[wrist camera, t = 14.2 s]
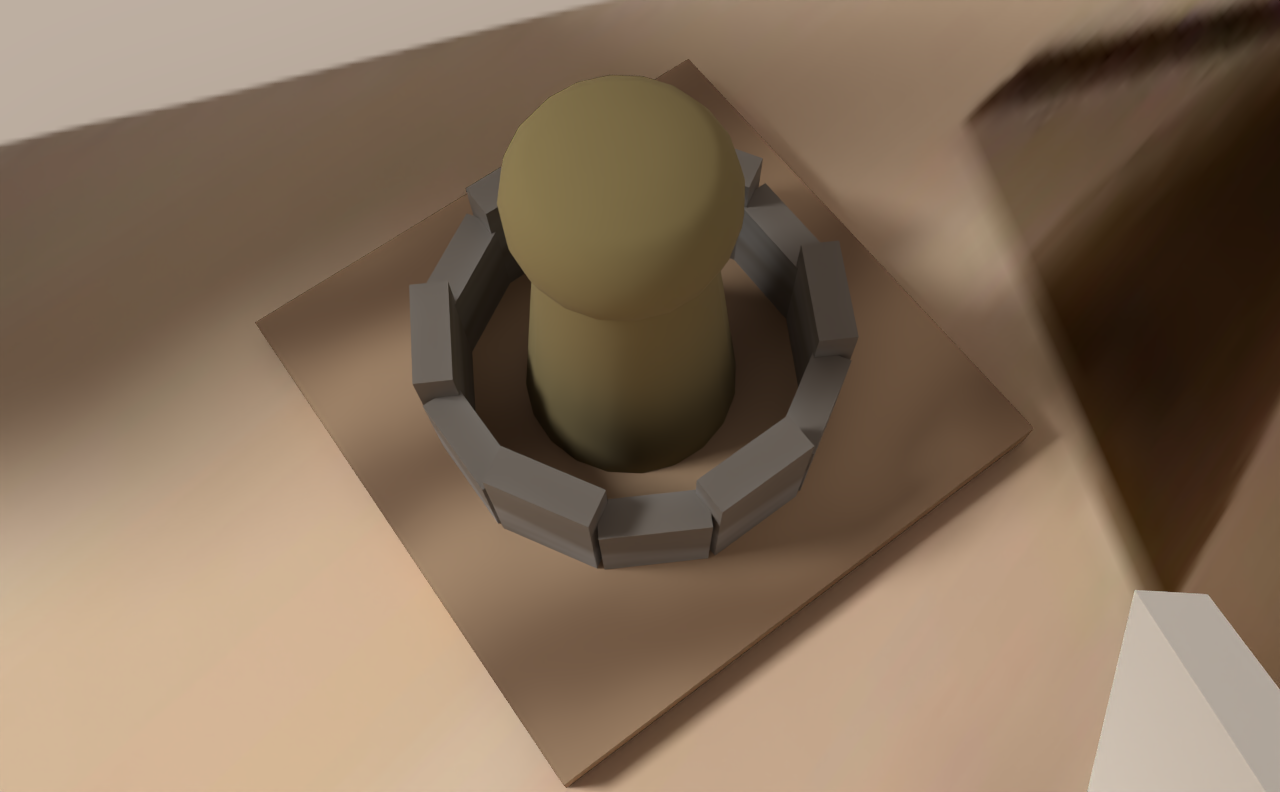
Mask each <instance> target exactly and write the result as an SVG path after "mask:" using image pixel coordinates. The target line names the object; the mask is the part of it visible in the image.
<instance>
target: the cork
mask: <svg viewBox="0 0 1280 792" xmlns="http://www.w3.org/2000/svg"><path fill="white" fill-rule="evenodd" d="M744 203H745V178H744V175H743V172H742V168H741V165H740V162H739V160H738V157H737V154H736V151H735V148H734V145H733V143H732V140H731V137H730V135H729V133H728V132H727V131H726V130H725V129H724V127H723V126H722V125H721V124H720V122H719V121H718V120H717V119H716V117H715V116H714V115H713V114H712V113H711V111H710V110H709V109H708V108H706V107H705V106H704V105H702V104H701V103H700V102H698V101H696V100H695V99H693V98H692V97H690V96H689V95H687V94H686V93H684V92H683V91H681V90H680V89H678V88H677V87H675V86H673V85H670V84H667V83H663V82H660V81H657V80H654V79H650V78H647V77H644V76H623V75H608V76H603V77H599V78H594V79H590V80H585V81H581V82H577V83H575V84H573V85H572V86H570V87H568V88H566V89H564V90H562V91H560V92H558V93H556V94H555V95H553V96H551V97H549V98H548V99H547V100H546V101H545V102H544V103H543V104H542V105H541V106H540V107H539V108H538V109H537V110H535V111H534V112H533V113H532V114H531V115H530V116H529V117H528V118H527V119H526V120H525V121H524V122H523V123H522V124H521V125H520V126H519V127H518V129H517V131H516V133H515V135H514V137H513V139H512V141H511V143H510V145H509V147H508V149H507V151H506V153H505V155H504V157H503V162H502V167H501V173H500V182H499V190H498V198H497V206H498V210H499V214H500V218H501V222H502V226H503V230H504V234H505V238H506V241H507V245H508V248H509V251H510V253H511V254H512V255H513V257H514V258H515V260H516V261H517V263H518V264H519V266H520V267H521V269H522V270H523V271H524V273H525V274H526V276H527V277H528V279H529V280H530V281H531V299H530V319H529V338H528V358H527V378H526V386H527V390H528V394H529V398H530V402H531V406H532V410H533V414H534V416H535V417H536V419H537V420H538V422H539V423H540V425H541V426H542V428H543V429H544V431H545V432H546V434H547V435H548V437H549V439H550V440H551V441H552V442H553V443H555V444H556V445H557V446H559V447H560V448H561V449H562V450H564V451H565V452H566V453H568V454H569V455H570V456H571V457H573V458H574V459H575V460H577V461H579V462H582V463H585V464H588V465H590V466H593V467H596V468H599V469H601V470H604V471H607V472H621V473H646V472H650V471H654V470H658V469H661V468H665V467H669V466H673V465H676V464H677V463H679V462H681V461H682V460H684V459H685V458H687V457H689V456H690V455H692V454H694V453H695V452H697V451H698V450H700V449H702V448H703V447H704V446H705V445H706V444H707V442H708V441H709V440H710V439H711V438H712V436H713V435H714V434H715V433H716V432H717V430H718V429H719V428H720V427H721V426H722V424H723V423H724V421H725V418H726V416H727V413H728V411H729V408H730V405H731V403H732V400H733V398H734V395H735V371H736V362H735V356H734V350H733V344H732V338H731V331H730V325H729V319H728V313H727V306H726V300H725V294H724V288H723V281H722V275H721V270H722V269H723V267H724V266H725V264H726V263H727V262H728V260H729V258H730V256H731V253H732V251H733V249H734V246H735V244H736V241H737V239H738V236H739V234H740V231H741V229H742V224H743V218H744Z"/></svg>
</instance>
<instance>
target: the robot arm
mask: <svg viewBox="0 0 1280 792" xmlns="http://www.w3.org/2000/svg"><path fill="white" fill-rule="evenodd" d="M1087 792H1280V689H1279V688H1278V687H1277V685H1276V684H1275V683H1274V681H1273V680H1272V679H1271V677H1270V676H1269V675H1268V673H1267V672H1266V671H1265V669H1264V668H1263V667H1262V665H1261V664H1260V663H1259V661H1258V660H1257V659H1256V657H1255V656H1254V655H1253V654H1252V652H1251V651H1250V650H1249V648H1248V647H1247V646H1246V644H1245V643H1244V642H1243V640H1242V639H1241V638H1240V636H1239V635H1238V634H1237V632H1236V631H1235V630H1234V628H1233V627H1232V626H1231V624H1230V623H1229V622H1228V620H1227V619H1226V618H1225V617H1224V615H1223V614H1222V613H1221V611H1220V610H1219V609H1218V607H1217V606H1216V605H1215V603H1214V602H1213V601H1212V599H1211V598H1210V597H1209V595H1208V594H1194V593H1177V592H1160V591H1143V590H1135V591H1134V595H1133V600H1132V604H1131V608H1130V612H1129V617H1128V621H1127V625H1126V629H1125V633H1124V638H1123V642H1122V646H1121V650H1120V655H1119V659H1118V663H1117V667H1116V672H1115V676H1114V680H1113V684H1112V689H1111V693H1110V697H1109V701H1108V706H1107V710H1106V714H1105V718H1104V723H1103V727H1102V731H1101V735H1100V740H1099V744H1098V748H1097V752H1096V757H1095V761H1094V765H1093V769H1092V774H1091V778H1090V782H1089V786H1088V790H1087Z"/></svg>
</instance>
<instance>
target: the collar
mask: <svg viewBox="0 0 1280 792" xmlns="http://www.w3.org/2000/svg"><path fill="white" fill-rule="evenodd" d="M655 80H657V81H660V82H663V83H667V84H670V85H673V86H675V87H677V88H678V89H680V90H681V91H683V92H684V93H686V94H687V95H689V96H690V97H692V98H693V99H695V100H696V101H698V102H700V103H701V104H702V105H704V106H705V107H706V108H708V109H709V110H710V111H711V113H712V114H713V115H714V116H715V117H716V119H717V120H718V121H719V122H720V124H721V125H722V126H723V127H724V129H725V130H726V131H727V132H728V133H729V135H730V137H731V140H732V143H733V145H734V148H735V151H736V154H737V157H738V160H739V162H740V165H741V168H742V172H743V175H744V178H745V203H744V218H743V224H742V229H741V231H740V234H739V236H738V239H737V241H736V244H735V246H734V249H733V251H732V253H731V256H730V258H729V260H728V262H727V263H726V264H725V266H724V267H723V269H722V270H721V275H722V281H723V288H724V294H725V300H726V306H727V313H728V319H729V325H730V331H731V338H732V344H733V350H734V356H735V362H736V371H735V395H734V398H733V400H732V403H731V405H730V408H729V411H728V413H727V416H726V418H725V421H724V423H723V424H722V426H721V427H720V428H719V429H718V430H717V432H716V433H715V434H714V435H713V436H712V438H711V439H710V440H709V441H708V442H707V444H706V445H705V446H704V447H703V448H702V449H700V450H698V451H697V452H695V453H694V454H692V455H690V456H689V457H687V458H685V459H684V460H682V461H681V462H679V463H677V464H676V465H673V466H669V467H665V468H661V469H658V470H654V471H650V472H646V473H621V472H607V471H604V470H601V469H599V468H596V467H593V466H590V465H588V464H585V463H582V462H579V461H577V460H575V459H574V458H573V457H571V456H570V455H569V454H568V453H566V452H565V451H564V450H562V449H561V448H560V447H559V446H557V445H556V444H555V443H553V442H552V441H551V440H550V439H549V437H548V435H547V434H546V432H545V431H544V429H543V428H542V426H541V425H540V423H539V422H538V420H537V419H536V417H535V416H534V414H533V410H532V406H531V402H530V398H529V394H528V390H527V386H526V378H527V358H528V338H529V319H530V299H531V281H530V280H529V279H528V277H527V276H526V274H525V273H524V271H523V270H522V269H521V267H520V266H519V264H518V263H517V261H516V260H515V258H514V257H513V255H512V254H511V253H510V251H509V248H508V245H507V241H506V238H505V234H504V230H503V226H502V222H501V218H500V214H499V210H498V206H497V198H498V190H499V182H500V173H501V167H500V168H498V169H497V170H495V171H493V172H492V173H490V174H489V175H487V176H485V177H484V178H482V179H480V180H479V181H477V182H475V183H474V184H472V185H470V186H469V187H467V188H466V192H467V194H466V195H464V196H462V197H461V198H459V199H457V200H456V201H454V202H452V203H451V204H449V205H448V206H446V207H444V208H443V209H441V210H439V211H438V212H436V213H434V214H433V215H431V216H429V217H428V218H426V219H425V220H423V221H421V222H420V223H418V224H416V225H415V226H413V227H411V228H410V229H408V230H406V231H405V232H403V233H401V234H400V235H398V236H397V237H395V238H393V239H392V240H390V241H388V242H387V243H385V244H383V245H382V246H380V247H378V248H377V249H375V250H374V251H372V252H370V253H369V254H367V255H365V256H364V257H362V258H360V259H359V260H357V261H355V262H354V263H352V264H351V265H349V266H347V267H346V268H344V269H342V270H341V271H339V272H337V273H336V274H334V275H332V276H331V277H329V278H328V279H326V280H324V281H323V282H321V283H319V284H318V285H316V286H314V287H313V288H311V289H309V290H308V291H306V292H304V293H303V294H301V295H300V296H298V297H296V298H295V299H293V300H291V301H290V302H288V303H286V304H285V305H283V306H281V307H280V308H278V309H277V310H275V311H273V312H272V313H270V314H268V315H267V316H265V317H263V318H262V319H260V320H258V321H257V322H255V323H256V325H257V326H258V328H259V329H260V331H261V332H262V334H263V335H264V337H265V338H266V340H267V341H268V343H269V344H270V346H271V347H272V349H273V350H274V352H275V353H276V355H277V356H278V358H279V359H280V361H281V362H282V364H283V365H284V367H285V368H286V370H287V371H288V373H289V374H290V376H291V377H292V379H293V380H294V382H295V383H296V385H297V386H298V388H299V389H300V391H301V392H302V394H303V395H304V397H305V398H306V400H307V401H308V403H309V404H310V406H311V407H312V409H313V410H314V412H315V413H316V415H317V416H318V418H319V419H320V421H321V422H322V424H323V425H324V427H325V428H326V430H327V431H328V433H329V434H330V436H331V437H332V439H333V440H334V442H335V443H336V445H337V446H338V448H339V449H340V451H341V452H342V454H343V455H344V457H345V458H346V460H347V461H348V463H349V464H350V466H351V467H352V469H353V470H354V472H355V473H356V475H357V476H358V478H359V479H360V481H361V482H362V484H363V485H364V487H365V488H366V490H367V491H368V493H369V494H370V496H371V497H372V499H373V500H374V502H375V503H376V505H377V506H378V508H379V509H380V511H381V512H382V514H383V515H384V517H385V518H386V520H387V521H388V523H389V524H390V526H391V527H392V529H393V530H394V532H395V533H396V535H397V536H398V538H399V539H400V541H401V542H402V544H403V545H404V547H405V548H406V550H407V551H408V553H409V554H410V556H411V557H412V559H413V560H414V562H415V563H416V565H417V566H418V568H419V569H420V571H421V572H422V574H423V575H424V577H425V578H426V580H427V581H428V583H429V584H430V586H431V587H432V589H433V590H434V592H435V593H436V595H437V596H438V598H439V599H440V601H441V602H442V604H443V605H444V607H445V608H446V610H447V611H448V613H449V614H450V616H451V617H452V619H453V620H454V622H455V623H456V625H457V626H458V628H459V629H460V631H461V632H462V634H463V635H464V637H465V638H466V640H467V641H468V643H469V644H470V646H471V647H472V649H473V650H474V652H475V653H476V655H477V656H478V658H479V659H480V661H481V662H482V664H483V665H484V667H485V668H486V670H487V671H488V673H489V674H490V676H491V677H492V679H493V680H494V682H495V683H496V685H497V686H498V688H499V689H500V691H501V692H502V694H503V695H504V697H505V698H506V700H507V701H508V703H509V704H510V706H511V707H512V709H513V710H514V712H515V713H516V715H517V716H518V718H519V719H520V721H521V722H522V724H523V725H524V727H525V728H526V730H527V731H528V733H529V734H530V736H531V737H532V739H533V740H534V742H535V743H536V745H537V746H538V748H539V749H540V751H541V752H542V754H543V755H544V757H545V758H546V760H547V761H548V763H549V764H550V766H551V767H552V769H553V770H554V772H555V773H556V775H557V776H558V778H559V779H560V781H561V782H562V784H563V785H564V786H565V787H566V788H567V787H568V786H570V785H571V784H572V783H574V782H575V781H576V780H578V779H579V778H580V777H582V776H583V775H584V774H586V773H587V772H588V771H589V770H591V769H592V768H593V767H595V766H596V765H597V764H599V763H600V762H601V761H603V760H604V759H605V758H607V757H608V756H609V755H611V754H612V753H613V752H614V751H616V750H617V749H618V748H620V747H621V746H622V745H624V744H625V743H626V742H628V741H629V740H630V739H632V738H633V737H634V736H635V735H637V734H638V733H639V732H641V731H642V730H643V729H645V728H646V727H647V726H649V725H650V724H651V723H653V722H654V721H655V720H657V719H658V718H659V717H660V716H662V715H663V714H664V713H666V712H667V711H668V710H670V709H671V708H672V707H674V706H675V705H676V704H678V703H679V702H680V701H681V700H683V699H684V698H685V697H687V696H688V695H689V694H691V693H692V692H693V691H695V690H696V689H697V688H699V687H700V686H701V685H703V684H704V683H705V682H706V681H708V680H709V679H710V678H712V677H713V676H714V675H716V674H717V673H718V672H720V671H721V670H722V669H724V668H725V667H726V666H727V665H729V664H730V663H731V662H733V661H734V660H735V659H737V658H738V657H739V656H741V655H742V654H743V653H745V652H746V651H747V650H749V649H750V648H751V647H752V646H754V645H755V644H756V643H758V642H759V641H760V640H762V639H763V638H764V637H766V636H767V635H768V634H770V633H771V632H772V631H773V630H775V629H776V628H777V627H779V626H780V625H781V624H783V623H784V622H785V621H787V620H788V619H789V618H791V617H792V616H793V615H795V614H796V613H797V612H798V611H800V610H801V609H802V608H804V607H805V606H806V605H808V604H809V603H810V602H812V601H813V600H814V599H816V598H817V597H818V596H819V595H821V594H822V593H823V592H825V591H826V590H827V589H829V588H830V587H831V586H833V585H834V584H835V583H837V582H838V581H839V580H841V579H842V578H843V577H844V576H846V575H847V574H848V573H850V572H851V571H852V570H854V569H855V568H856V567H858V566H859V565H860V564H862V563H863V562H864V561H865V560H867V559H868V558H869V557H871V556H872V555H873V554H875V553H876V552H877V551H879V550H880V549H881V548H883V547H884V546H885V545H887V544H888V543H889V542H890V541H892V540H893V539H894V538H896V537H897V536H898V535H900V534H901V533H902V532H904V531H905V530H906V529H908V528H909V527H910V526H911V525H913V524H914V523H915V522H917V521H918V520H919V519H921V518H922V517H923V516H925V515H926V514H927V513H929V512H930V511H931V510H933V509H934V508H935V507H936V506H938V505H939V504H940V503H942V502H943V501H944V500H946V499H947V498H948V497H950V496H951V495H952V494H954V493H955V492H956V491H958V490H959V489H960V488H961V487H963V486H964V485H965V484H967V483H968V482H969V481H971V480H972V479H973V478H975V477H976V476H977V475H979V474H980V473H981V472H982V471H984V470H985V469H986V468H988V467H989V466H990V465H992V464H993V463H994V462H996V461H997V460H998V459H1000V458H1001V457H1002V456H1004V455H1005V454H1006V453H1007V452H1009V451H1010V450H1011V449H1013V448H1014V447H1015V446H1017V445H1018V444H1019V443H1021V442H1022V441H1023V440H1024V439H1025V438H1026V437H1027V435H1028V434H1029V433H1030V432H1031V431H1032V430H1033V427H1032V426H1031V425H1030V424H1029V422H1028V421H1027V420H1026V419H1025V418H1024V417H1023V416H1022V415H1021V414H1020V413H1019V412H1018V411H1017V410H1016V409H1015V408H1014V406H1013V405H1012V404H1011V403H1010V402H1009V401H1008V400H1007V399H1006V398H1005V397H1004V396H1003V395H1002V394H1001V393H1000V392H999V390H998V389H997V388H996V387H995V386H994V385H993V384H992V383H991V382H990V381H989V380H988V379H987V378H986V377H985V375H984V374H983V373H982V372H981V371H980V370H979V369H978V368H977V367H976V366H975V365H974V364H973V363H972V362H971V361H970V359H969V358H968V357H967V356H966V355H965V354H964V353H963V352H962V351H961V350H960V349H959V348H958V347H957V346H956V344H955V343H954V342H953V341H952V340H951V339H950V338H949V337H948V336H947V335H946V334H945V333H944V332H943V331H942V330H941V328H940V327H939V326H938V325H937V324H936V323H935V322H934V321H933V320H932V319H931V318H930V317H929V316H928V315H927V314H926V312H925V311H924V310H923V309H922V308H921V307H920V306H919V305H918V304H917V303H916V302H915V301H914V300H913V299H912V297H911V296H910V295H909V294H908V293H907V292H906V291H905V290H904V289H903V288H902V287H901V286H900V285H899V284H898V283H897V281H896V280H895V279H894V278H893V277H892V276H891V275H890V274H889V273H888V272H887V271H886V270H885V269H884V268H883V266H882V265H881V264H880V263H879V262H878V261H877V260H876V259H875V258H874V257H873V256H872V255H871V254H870V253H869V252H868V250H867V249H866V248H865V247H864V246H863V245H862V244H861V243H860V242H859V241H858V240H857V239H856V238H855V237H854V236H853V234H852V233H851V232H850V231H849V230H848V229H847V228H846V227H845V226H844V225H843V224H842V223H841V222H840V221H839V219H838V218H837V217H836V216H835V215H834V214H833V213H832V212H831V211H830V210H829V209H828V208H827V207H826V206H825V205H824V203H823V202H822V201H821V200H820V199H819V198H818V197H817V196H816V195H815V194H814V193H813V192H812V191H811V190H810V189H809V187H808V186H807V185H806V184H805V183H804V182H803V181H802V180H801V179H800V178H799V177H798V176H797V175H796V174H795V172H794V171H793V170H792V169H791V168H790V167H789V166H788V165H787V164H786V163H785V162H784V161H783V160H782V159H781V158H780V156H779V155H778V154H777V153H776V152H775V151H774V150H773V149H772V148H771V147H770V146H769V145H768V144H767V143H766V141H765V140H764V139H763V138H762V137H761V136H760V135H759V134H758V133H757V132H756V131H755V130H754V129H753V128H752V127H751V125H750V124H749V123H748V122H747V121H746V120H745V119H744V118H743V117H742V116H741V115H740V114H739V113H738V112H737V111H736V109H735V108H734V107H733V106H732V105H731V104H730V103H729V102H728V101H727V100H726V99H725V98H724V97H723V96H722V94H721V93H720V92H719V91H718V90H717V89H716V88H715V87H714V86H713V85H712V84H711V83H710V82H709V81H708V80H707V78H706V77H705V76H704V75H703V74H702V73H701V72H700V71H699V70H698V69H697V68H696V67H695V66H694V65H693V63H692V62H691V61H690V60H689V59H688V60H686V61H684V62H683V63H681V64H679V65H678V66H676V67H674V68H673V69H671V70H670V71H668V72H666V73H665V74H663V75H661V76H660V77H658V78H656V79H655Z"/></svg>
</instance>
